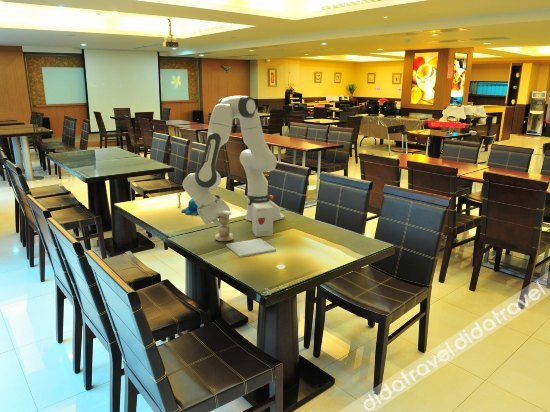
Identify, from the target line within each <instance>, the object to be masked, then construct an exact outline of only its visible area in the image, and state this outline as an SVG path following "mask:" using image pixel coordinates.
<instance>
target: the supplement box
mask: <svg viewBox="0 0 550 412" xmlns="http://www.w3.org/2000/svg"><path fill="white" fill-rule="evenodd" d="M251 222H252V224H251V225H252V228H251V230H252V233H253V234H254V236H255V237H258V238H260V237H273V236H274V221H273V207H272V206H271V205H270V204H269V203H264V204H253V220H252V221H251Z"/></svg>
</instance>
